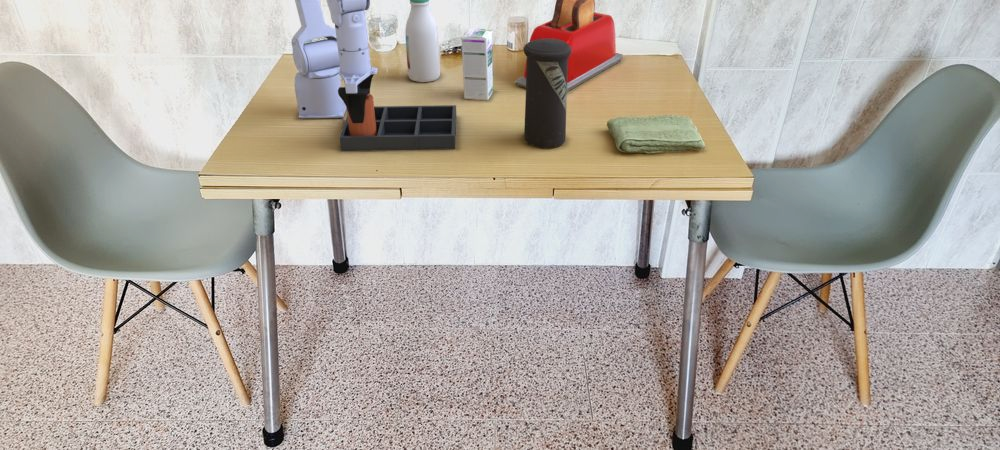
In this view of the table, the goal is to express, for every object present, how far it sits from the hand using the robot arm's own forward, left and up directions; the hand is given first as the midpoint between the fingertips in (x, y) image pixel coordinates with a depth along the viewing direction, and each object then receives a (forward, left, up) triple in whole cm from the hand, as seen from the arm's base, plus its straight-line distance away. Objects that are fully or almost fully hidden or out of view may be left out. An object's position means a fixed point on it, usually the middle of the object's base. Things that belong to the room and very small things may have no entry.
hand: (360, 114), depth 142 cm
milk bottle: (+10, +35, -6) cm, 37 cm away
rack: (+7, +4, -6) cm, 10 cm away
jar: (0, 0, -6) cm, 6 cm away
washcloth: (+58, -1, -6) cm, 59 cm away
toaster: (+46, +38, -6) cm, 60 cm away
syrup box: (+23, +24, -6) cm, 34 cm away
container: (+36, 0, -6) cm, 37 cm away
